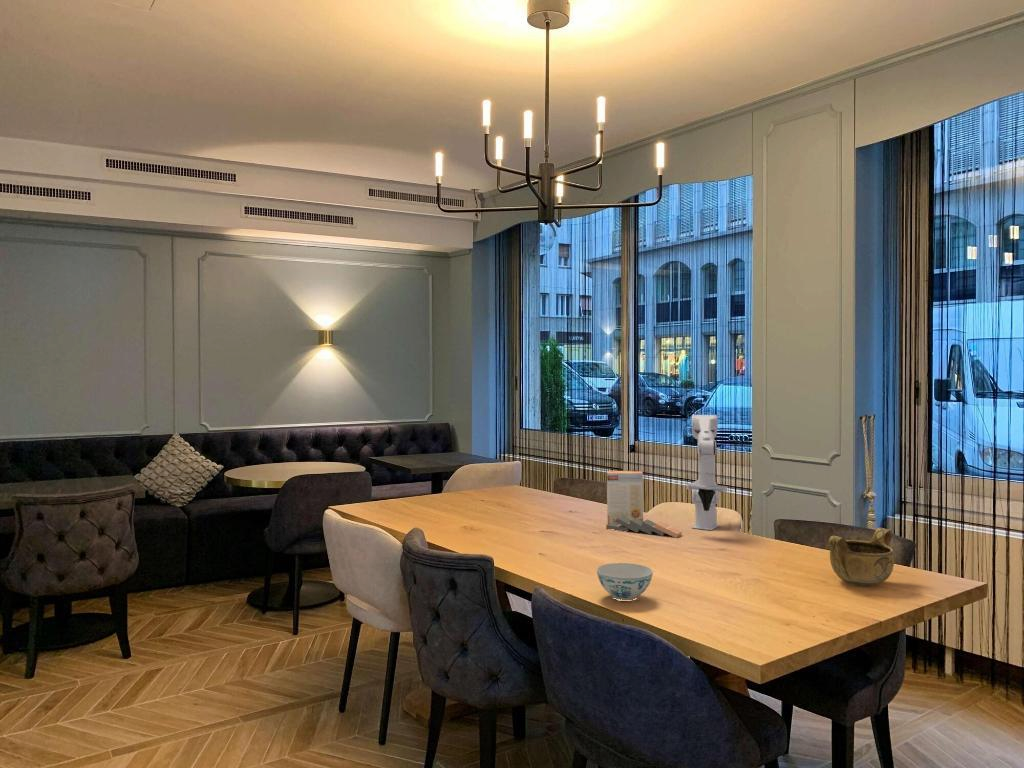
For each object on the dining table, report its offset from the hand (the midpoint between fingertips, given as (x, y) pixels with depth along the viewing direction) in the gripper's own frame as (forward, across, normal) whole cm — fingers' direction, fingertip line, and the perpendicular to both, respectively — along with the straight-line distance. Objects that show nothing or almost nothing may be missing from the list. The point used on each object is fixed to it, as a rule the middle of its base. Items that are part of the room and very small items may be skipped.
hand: (706, 510), depth 280 cm
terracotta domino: (+9, -9, -4) cm, 13 cm away
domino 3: (+9, -14, -4) cm, 17 cm away
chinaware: (+10, +5, -83) cm, 84 cm away
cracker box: (+10, -35, +6) cm, 37 cm away
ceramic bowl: (+10, +57, -35) cm, 68 cm away
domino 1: (+9, -24, -4) cm, 26 cm away
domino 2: (+9, -19, -4) cm, 21 cm away
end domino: (+9, -28, -4) cm, 30 cm away
